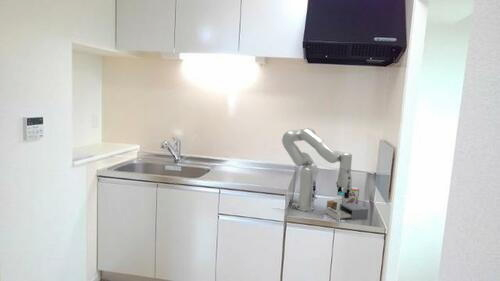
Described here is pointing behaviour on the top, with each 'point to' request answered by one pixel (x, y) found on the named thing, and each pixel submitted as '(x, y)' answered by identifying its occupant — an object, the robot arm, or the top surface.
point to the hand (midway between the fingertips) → (342, 196)
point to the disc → (341, 193)
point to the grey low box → (355, 210)
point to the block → (332, 204)
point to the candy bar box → (351, 196)
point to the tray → (337, 213)
